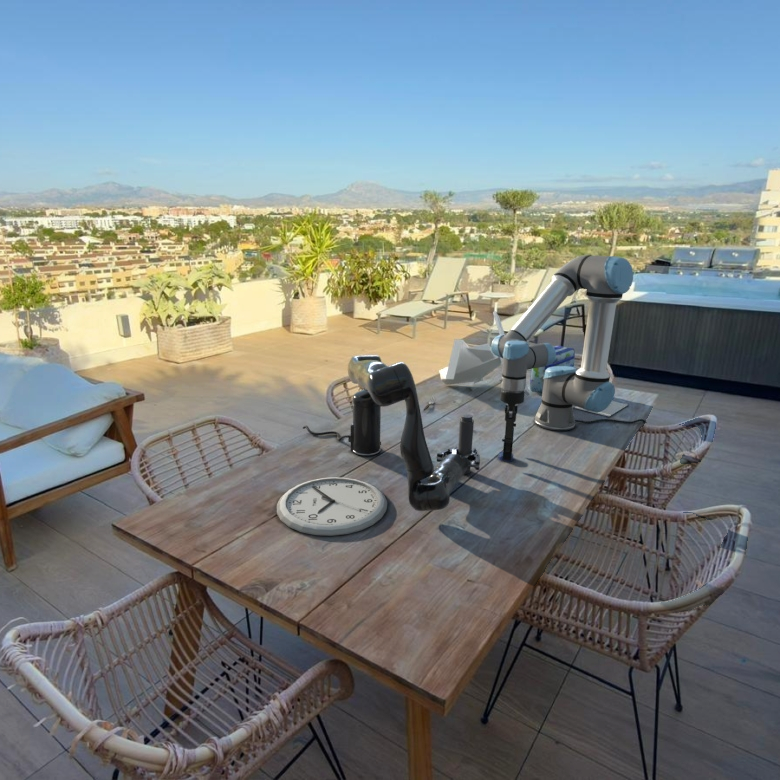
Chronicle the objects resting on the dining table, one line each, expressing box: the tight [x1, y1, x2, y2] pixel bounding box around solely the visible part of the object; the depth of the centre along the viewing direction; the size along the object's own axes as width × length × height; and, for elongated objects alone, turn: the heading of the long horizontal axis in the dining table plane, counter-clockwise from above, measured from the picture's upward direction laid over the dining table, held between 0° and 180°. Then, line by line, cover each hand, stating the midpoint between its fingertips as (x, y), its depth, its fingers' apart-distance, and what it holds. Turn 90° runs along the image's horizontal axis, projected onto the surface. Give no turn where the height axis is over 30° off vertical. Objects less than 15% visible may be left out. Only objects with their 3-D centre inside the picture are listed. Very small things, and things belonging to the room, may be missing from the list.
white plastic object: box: [438, 310, 531, 397], centre depth 245 cm, size 37×45×31 cm
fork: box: [422, 395, 437, 412], centre depth 223 cm, size 3×16×2 cm, turn 160°
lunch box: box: [529, 345, 576, 394], centre depth 244 cm, size 26×11×21 cm, turn 135°
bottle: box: [457, 413, 475, 475], centre depth 161 cm, size 4×4×19 cm
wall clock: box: [276, 476, 388, 537], centre depth 142 cm, size 30×2×30 cm
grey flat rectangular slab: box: [573, 400, 629, 418], centre depth 226 cm, size 21×1×15 cm
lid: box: [497, 451, 514, 463], centre depth 173 cm, size 5×5×2 cm
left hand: (467, 449), depth 165 cm, fingers closed on bottle, 4 cm apart
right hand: (507, 452), depth 173 cm, fingers open, 11 cm apart
